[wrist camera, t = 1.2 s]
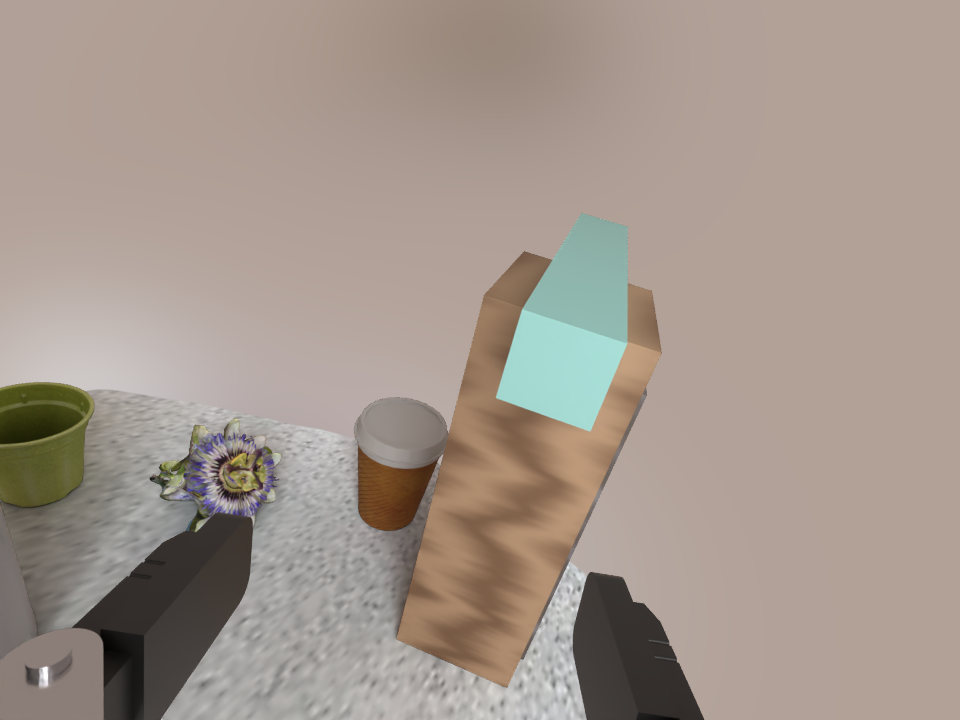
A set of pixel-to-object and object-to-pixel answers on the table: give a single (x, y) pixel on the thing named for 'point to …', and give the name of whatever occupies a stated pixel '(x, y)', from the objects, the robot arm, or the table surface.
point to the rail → (572, 327)
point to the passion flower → (221, 474)
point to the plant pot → (41, 441)
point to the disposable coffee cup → (396, 459)
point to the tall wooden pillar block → (514, 492)
